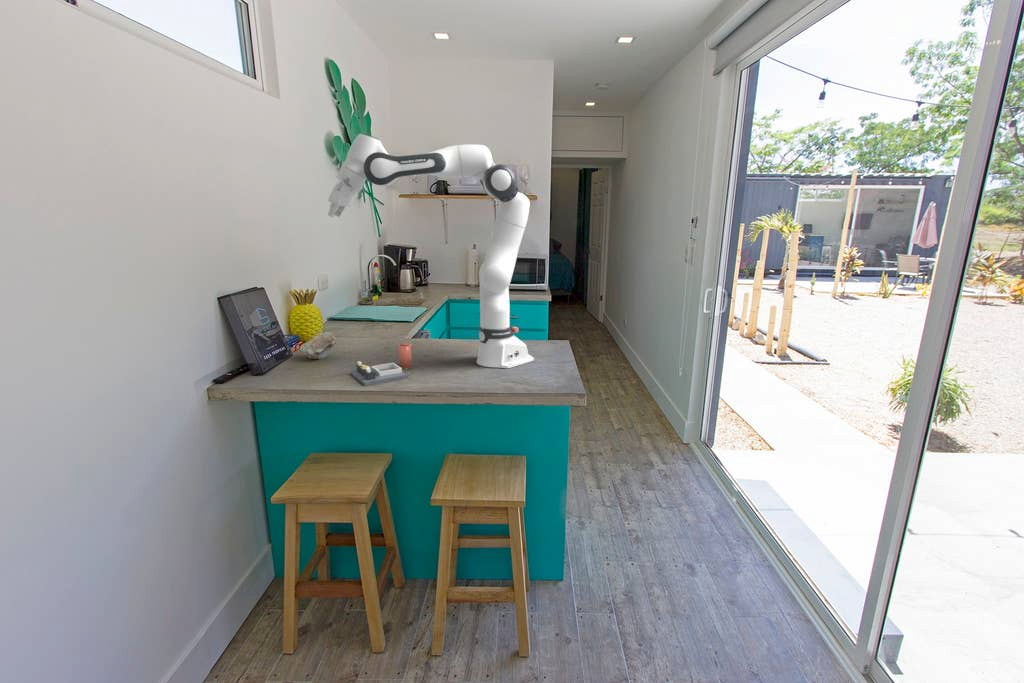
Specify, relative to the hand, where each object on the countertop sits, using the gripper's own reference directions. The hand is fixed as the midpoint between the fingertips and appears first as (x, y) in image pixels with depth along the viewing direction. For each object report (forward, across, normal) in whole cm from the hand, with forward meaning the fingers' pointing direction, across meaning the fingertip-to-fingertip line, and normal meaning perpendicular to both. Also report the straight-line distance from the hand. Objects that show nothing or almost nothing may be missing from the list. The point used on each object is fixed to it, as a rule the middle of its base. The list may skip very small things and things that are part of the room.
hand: (333, 216), depth 174 cm
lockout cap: (+37, -3, -46) cm, 59 cm away
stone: (+54, +10, -15) cm, 57 cm away
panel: (+41, -13, -38) cm, 58 cm away
